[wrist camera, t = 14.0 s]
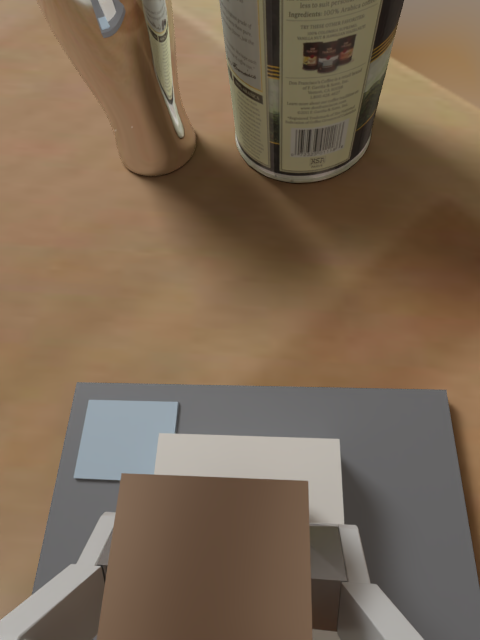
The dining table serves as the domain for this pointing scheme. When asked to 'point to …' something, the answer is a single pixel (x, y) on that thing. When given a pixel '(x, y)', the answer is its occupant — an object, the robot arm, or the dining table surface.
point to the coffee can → (306, 81)
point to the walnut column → (208, 560)
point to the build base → (371, 484)
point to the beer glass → (129, 75)
